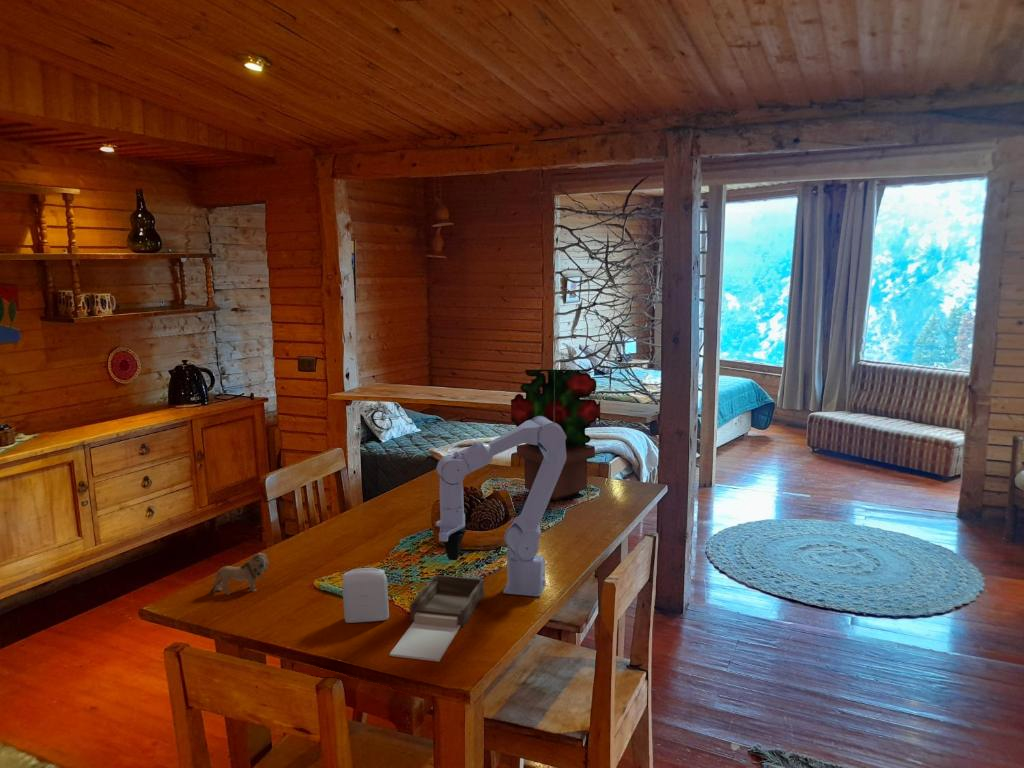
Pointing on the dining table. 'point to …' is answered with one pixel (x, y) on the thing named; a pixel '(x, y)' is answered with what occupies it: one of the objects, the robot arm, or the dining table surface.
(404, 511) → the dining table surface
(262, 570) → the lion figurine
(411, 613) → the walnut box
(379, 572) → the photo printer
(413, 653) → the cover plate
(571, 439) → the potted plant
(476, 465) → the robot arm
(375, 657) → the dining table surface
